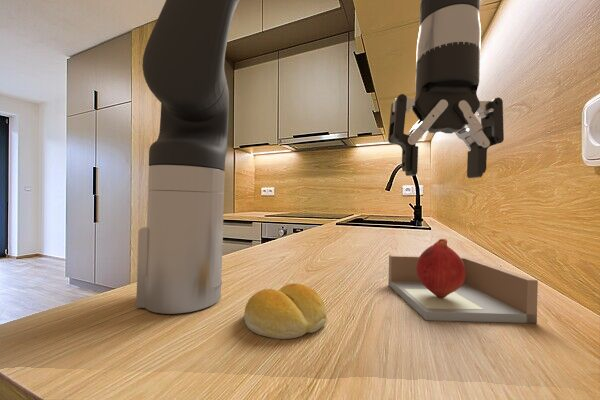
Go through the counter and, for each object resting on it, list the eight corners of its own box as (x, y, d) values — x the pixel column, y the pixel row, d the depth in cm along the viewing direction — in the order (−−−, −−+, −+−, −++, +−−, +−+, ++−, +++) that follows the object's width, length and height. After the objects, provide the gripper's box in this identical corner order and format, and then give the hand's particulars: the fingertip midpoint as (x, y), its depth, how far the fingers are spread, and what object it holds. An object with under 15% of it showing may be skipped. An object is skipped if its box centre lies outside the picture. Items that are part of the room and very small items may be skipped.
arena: (426, 320, 31) (427, 277, 31) (388, 284, 44) (389, 254, 44) (536, 323, 31) (537, 280, 31) (466, 287, 44) (466, 257, 44)
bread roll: (234, 317, 31) (235, 282, 31) (300, 303, 35) (301, 274, 35) (261, 353, 24) (262, 308, 24) (339, 330, 28) (340, 293, 28)
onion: (421, 303, 33) (423, 240, 33) (411, 288, 39) (413, 234, 39) (472, 308, 32) (474, 242, 32) (455, 292, 38) (456, 236, 38)
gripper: (480, 72, 39) (476, 180, 39) (384, 68, 39) (381, 177, 39) (523, 41, 32) (518, 175, 31) (405, 37, 32) (400, 171, 31)
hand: (442, 176), depth 35 cm, fingers open, 8 cm apart
